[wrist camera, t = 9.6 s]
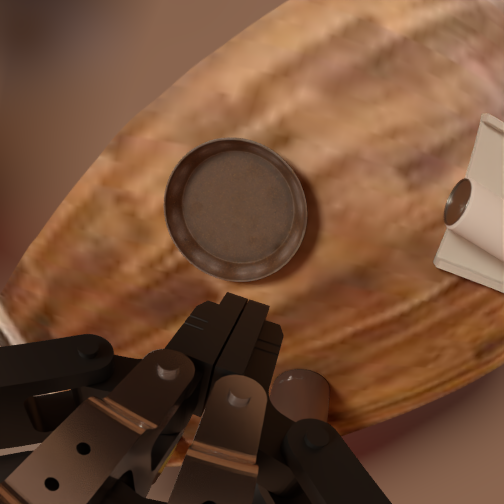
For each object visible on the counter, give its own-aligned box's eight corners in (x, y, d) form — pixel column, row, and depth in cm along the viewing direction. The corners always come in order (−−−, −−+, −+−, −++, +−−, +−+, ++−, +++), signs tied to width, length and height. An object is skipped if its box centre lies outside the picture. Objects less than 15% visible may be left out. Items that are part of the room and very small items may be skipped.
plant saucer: (323, 258, 40) (323, 268, 38) (199, 283, 46) (191, 292, 43) (285, 119, 36) (281, 117, 33) (157, 162, 41) (145, 165, 38)
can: (453, 178, 33) (518, 221, 32) (436, 226, 34) (502, 265, 33) (478, 173, 27) (546, 223, 25) (459, 229, 28) (529, 274, 27)
